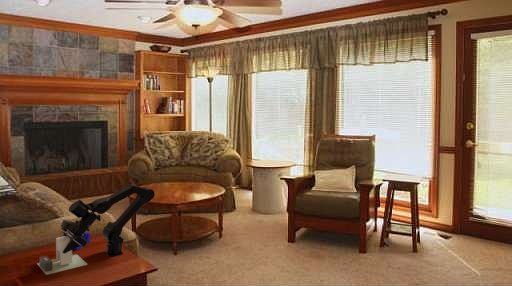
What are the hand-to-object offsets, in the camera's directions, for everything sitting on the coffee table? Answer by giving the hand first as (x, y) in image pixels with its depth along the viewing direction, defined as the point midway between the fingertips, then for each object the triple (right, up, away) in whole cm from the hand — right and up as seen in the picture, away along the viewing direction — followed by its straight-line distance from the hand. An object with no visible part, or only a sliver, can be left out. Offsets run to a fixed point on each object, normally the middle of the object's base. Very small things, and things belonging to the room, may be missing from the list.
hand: (60, 250), depth 196 cm
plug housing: (+1, -5, +2) cm, 6 cm away
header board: (0, -7, +2) cm, 8 cm away
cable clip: (-1, -5, +23) cm, 24 cm away
